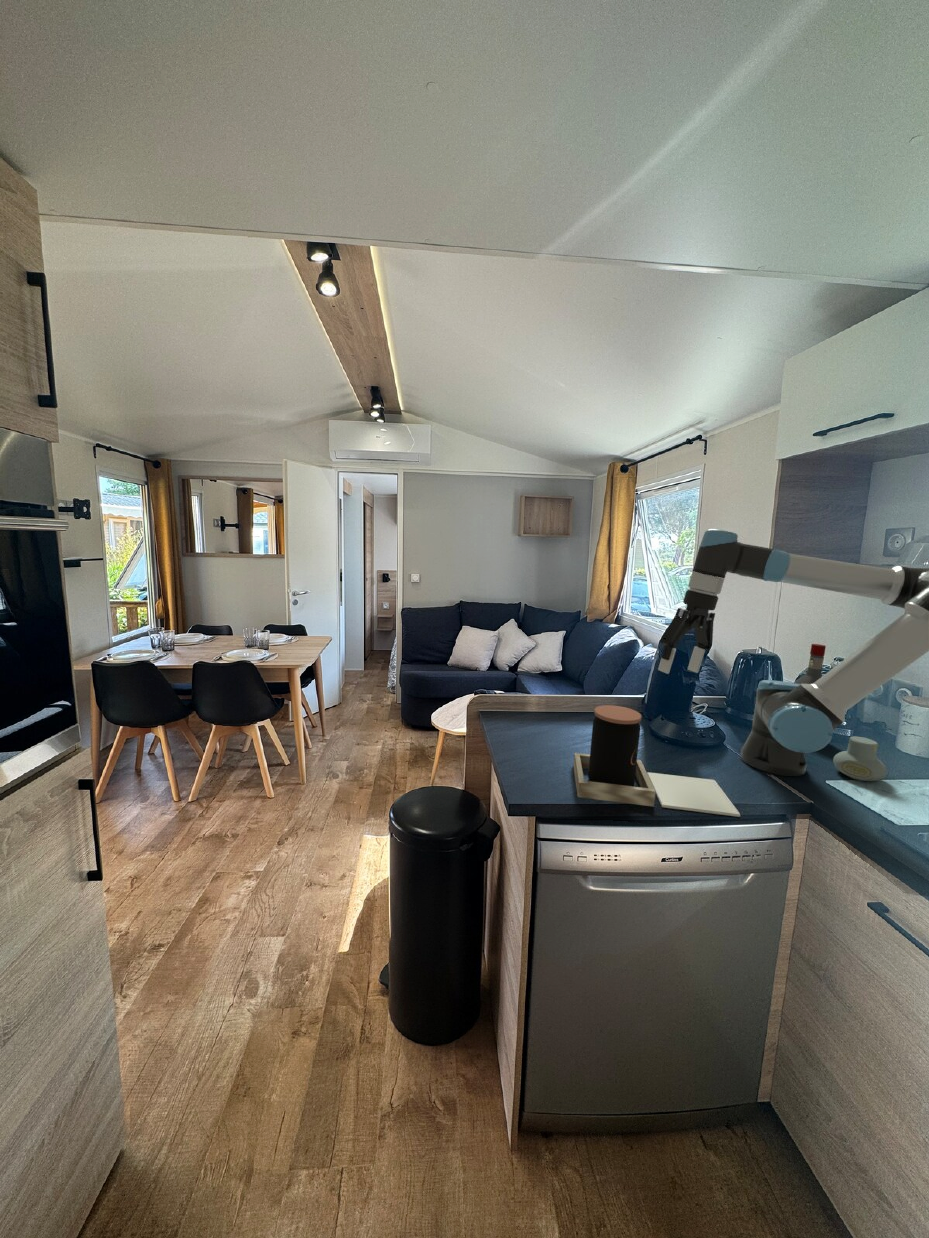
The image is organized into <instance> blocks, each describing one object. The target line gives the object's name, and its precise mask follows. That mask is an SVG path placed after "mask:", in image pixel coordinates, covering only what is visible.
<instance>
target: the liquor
mask: <svg viewBox="0 0 929 1238" xmlns="http://www.w3.org/2000/svg"><path fill="white" fill-rule="evenodd" d="M826 648H827V647H826V645H824V644H818V643H811V646H810V652H809V654H810V657H809V663H808V667H807V668H808V669H807V670H806V673H805V674H804V675H802V676H801V677H799V678H798V679H796V680H794V681H793V683H796V684H813V683H814V682H816V681H817V680H818V679H820V678H821V677H822V676H823V674H822V669H823V660H824V657H825V653H826Z"/></svg>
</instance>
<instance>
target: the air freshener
mask: <svg viewBox="0 0 929 1238" xmlns="http://www.w3.org/2000/svg"><path fill="white" fill-rule="evenodd" d="M846 749H847V750H843V751H840V752H838V753H836V754H835V755H834V756H833V760H832V761H833V764H834V766H835V768H836V769H837V770H838V771H839V772H841V774H843V775H845V776H847V777H849V778H850V779H852V780H855V781H860V782H877V781H880V780H882V779H884V778H885V777H886V775H888V771H887V767H886V766H885V764H884V763H883V762H882V761H881V760H880V759H878V758H877V754H878V749H879V744H878V742H877V741H875V740H873V739H870V738H869V737H868V738H867V737H863V736H862V737H861V736H854V735H853V736H850V737H849V739H848V745H847V748H846Z"/></svg>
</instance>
